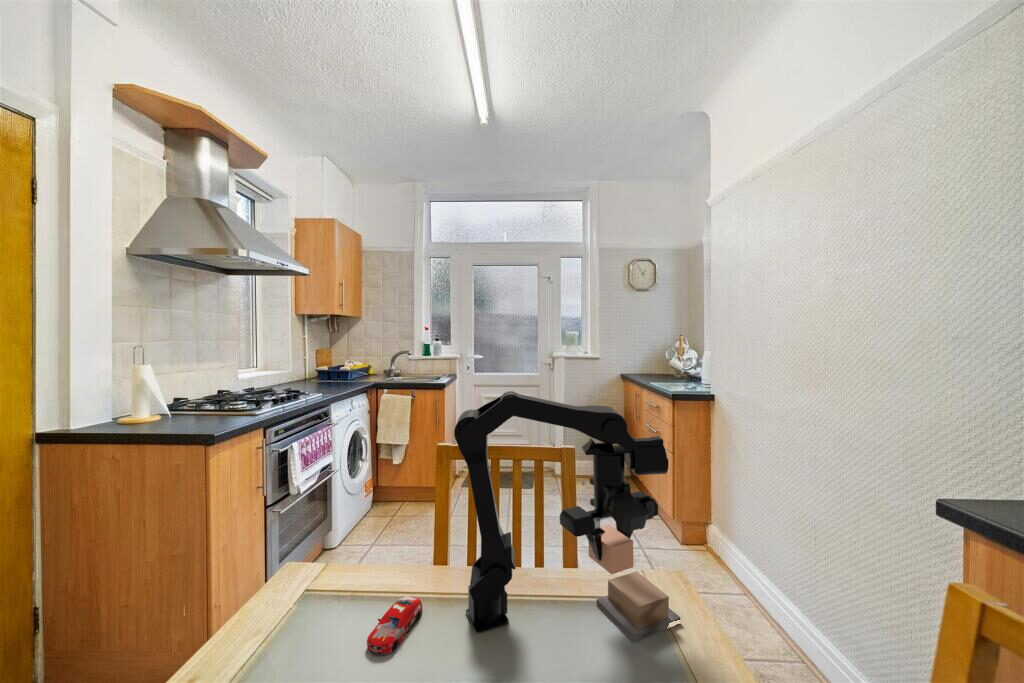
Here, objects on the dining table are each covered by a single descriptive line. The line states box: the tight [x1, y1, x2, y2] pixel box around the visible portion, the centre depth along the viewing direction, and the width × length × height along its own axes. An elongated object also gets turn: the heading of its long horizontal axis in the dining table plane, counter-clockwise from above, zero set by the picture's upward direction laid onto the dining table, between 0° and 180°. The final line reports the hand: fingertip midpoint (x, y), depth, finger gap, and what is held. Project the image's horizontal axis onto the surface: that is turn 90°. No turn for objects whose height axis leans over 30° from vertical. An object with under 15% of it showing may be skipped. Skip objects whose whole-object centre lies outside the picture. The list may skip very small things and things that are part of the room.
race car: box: [366, 595, 423, 656], centre depth 83 cm, size 13×5×4 cm, turn 161°
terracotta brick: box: [588, 524, 634, 576], centre depth 86 cm, size 5×7×5 cm
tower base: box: [596, 570, 682, 642], centre depth 87 cm, size 11×11×5 cm
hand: (610, 556), depth 86 cm, fingers closed on terracotta brick, 5 cm apart
